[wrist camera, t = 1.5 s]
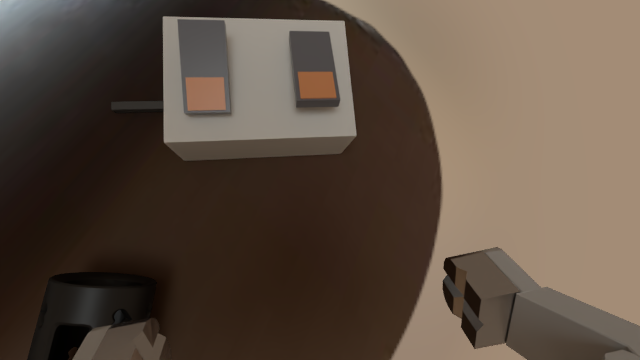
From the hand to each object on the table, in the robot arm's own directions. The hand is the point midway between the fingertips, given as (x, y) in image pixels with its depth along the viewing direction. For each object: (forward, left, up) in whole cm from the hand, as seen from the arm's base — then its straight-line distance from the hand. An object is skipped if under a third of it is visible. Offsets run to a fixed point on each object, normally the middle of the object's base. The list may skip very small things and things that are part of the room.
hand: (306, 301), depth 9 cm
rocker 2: (-10, +16, -23) cm, 30 cm away
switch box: (-17, +10, -32) cm, 37 cm away
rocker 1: (-18, +9, -23) cm, 31 cm away
